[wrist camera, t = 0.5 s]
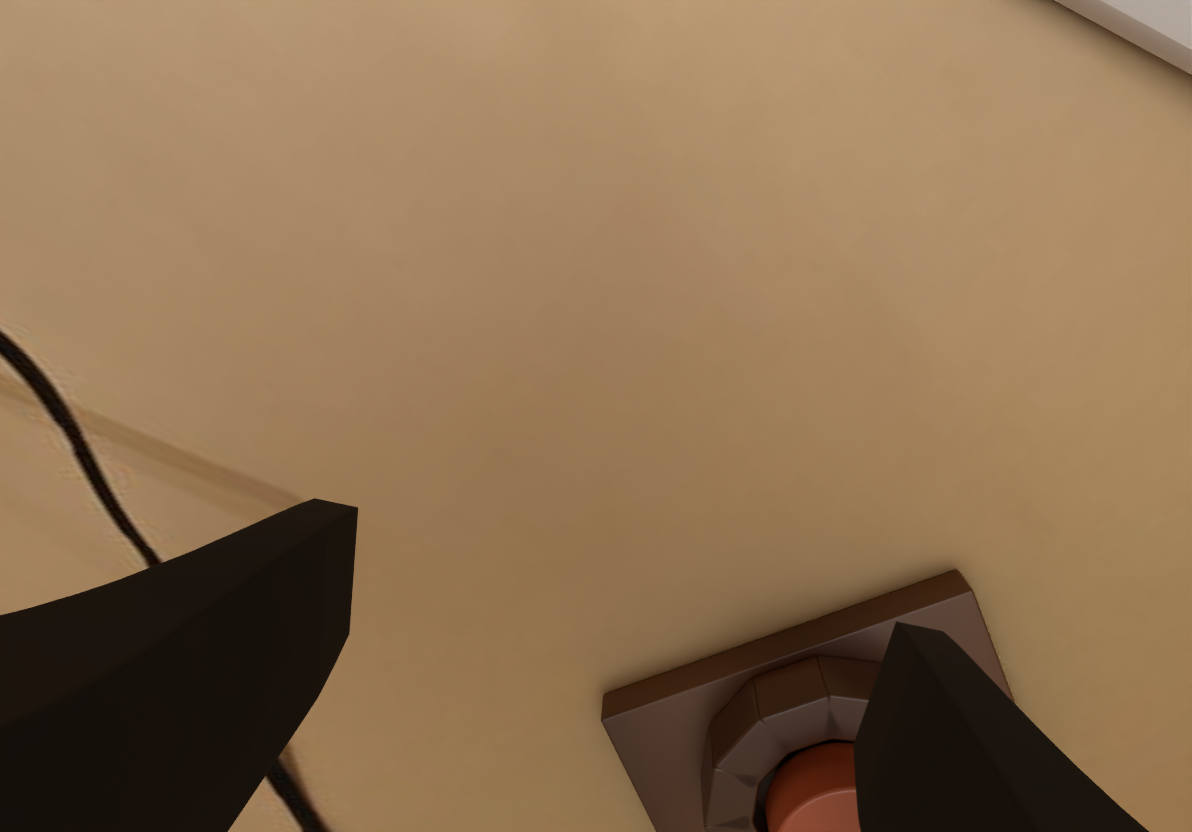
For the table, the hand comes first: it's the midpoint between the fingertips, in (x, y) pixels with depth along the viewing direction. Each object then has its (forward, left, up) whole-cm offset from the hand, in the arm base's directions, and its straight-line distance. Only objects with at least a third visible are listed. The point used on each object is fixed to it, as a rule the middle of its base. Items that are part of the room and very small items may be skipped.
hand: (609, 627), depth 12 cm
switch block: (+1, -11, -11) cm, 16 cm away
